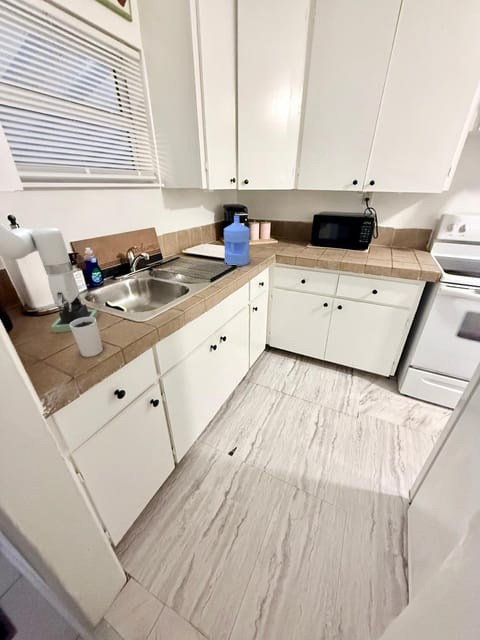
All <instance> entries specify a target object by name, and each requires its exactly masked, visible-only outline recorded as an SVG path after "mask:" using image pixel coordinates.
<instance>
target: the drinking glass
mask: <svg viewBox="0 0 480 640" xmlns="http://www.w3.org/2000/svg"><path fill="white" fill-rule="evenodd" d="M70 328H71V330H72V331H71V332H72V335H73V337H74V340H75V342H76V344H77V347H78V349H79V352H80V355H81V356H83V357H84V358H91V357H94V356H98V355H99V354H101V352H103V349H104V348H103V344H102V340H101V335H100V331H99V326H98V322H97V318H96V319H95V318H93V317H83V318H79V319H76V320H74V321H72V322H71V323H70Z"/></svg>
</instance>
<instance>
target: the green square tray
mask: <svg viewBox="0 0 480 640" xmlns="http://www.w3.org/2000/svg"><path fill="white" fill-rule="evenodd" d="M87 310H88V312H92V313H91V315H90V316H89V317H93V318H95V319H96V320H97V318H98V316H99V312H98V311H99V310H98V309H87ZM60 322H61V318H60V316H59V317H58V318H57V319H56V320H55V321H54V322H53V324H52V325H51V326H50V329H51V331H52V333H64V332H72V330H71V328H70V324H63V325H58V324H59V323H60Z"/></svg>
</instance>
